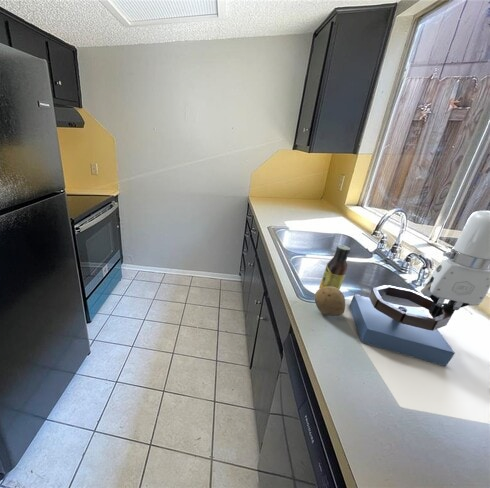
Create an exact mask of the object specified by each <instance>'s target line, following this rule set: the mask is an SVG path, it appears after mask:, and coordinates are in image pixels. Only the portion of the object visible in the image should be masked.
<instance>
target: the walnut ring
mask: <svg viewBox="0 0 490 488" xmlns="http://www.w3.org/2000/svg"><path fill="white" fill-rule="evenodd" d="M384 296H387V297H393V298H398V299H402V300H407V301H409V302H411V303H414V304H415V305H418V306H420V307H422V308H424V309H426V310H428V311H429V309H430V307H431V305H432V303H433V301H432V299H431V298H429V297H427V296H425V295H423V294H422V293H421V292H418V291H415V290H412V289H409V288H404V287H400V286H396V285H395V286H394V285H390V284H383V285H380V286H376V287H373V288H371V291H370V293H369V295H368V298H370V300H371V302H372V305H373V307H374V308H376V310H378V311H380V312H382V313H383V314H385V315H387V316H389V317H390V318H392V319H394V320H396V321H397V322H401V323H402V324H406V325H410V326H414V327H418V328H422V329H426V330H432V331H433V330H436V329H438V330H439V329H441V328H443V327H446V326H447V325H448V323H449V321H450V320H451V318H452V316H451V315H450V314H449V313H448V311H447V310H446V309H445V308H444V307H443V305H442V307H443V310H442V311H441V313H440V315H439V316H437V317H434V318H433V317H429V316H428V317H424V316H420V315H415V314H411V313H407V312H404V311H402V310H400V309H398V308H396V307H395V306H393V305H391V304H389V303H390V302H389V303H387V302H388V301H385V300H383V298H382V297H384Z"/></svg>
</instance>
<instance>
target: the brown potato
mask: <svg viewBox="0 0 490 488" xmlns="http://www.w3.org/2000/svg"><path fill="white" fill-rule="evenodd" d="M313 298H314V300H313V301H314V303H315V305H316V307H317V310H318V311H319V312H320V313H321V314H323V315H325V316H341V315H343V314H344V313H345V310H346V298H345V295H344V293H343V291H341V289H340V290H339V289H337V288H335V287H331V286H328V287H323V288H321V289H319V288H318V289H317V290H316V292H315V293H314V295H313Z"/></svg>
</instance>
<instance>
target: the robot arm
mask: <svg viewBox="0 0 490 488" xmlns="http://www.w3.org/2000/svg"><path fill="white" fill-rule="evenodd" d="M442 256H443V257H445V258H443V259H442V260H441V262H439V264H438V265H437V266H436V267H435V269H434V270H433V271H432V273H431V274H430V276H429V278H428V280H427V282H426V283H425V286H424V287H423V288H422V289H421V290H420V294H422V295H424V296H426V297H429V298H431V299H432V301H433V303H432V305H431V307H430V309H429V310H428V313H429V315H430V316H431V318H434V317H437V316H439V315H440V313H441V311H442V310H443V307H444V308H445V309H446V310H447V311H448V313H449V314H450V315H451V317H452V316H453V314H454V312H455V311H459V310H460V309H461V308H465V307H467V306H469V307H471V306H472V307H473V306H474V307H475V306H479V305H480V304H482V302H483V301H484V300H485V298H486V296H487V294H488V292H489V290H490V210H477V211H474V212H472V214H471V215H470V216H469V217H468V219H467V221H466V223H465V225H464V226H463V228H462V230H461V232H460V234H459V236H458V238H457V240H456V242H455V244H454V246H453V247H452V248H451V249H450V251H445V250H444V252H443V253H442ZM446 300H449V301H448V302H445V301H446ZM442 306H443V307H442Z"/></svg>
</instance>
